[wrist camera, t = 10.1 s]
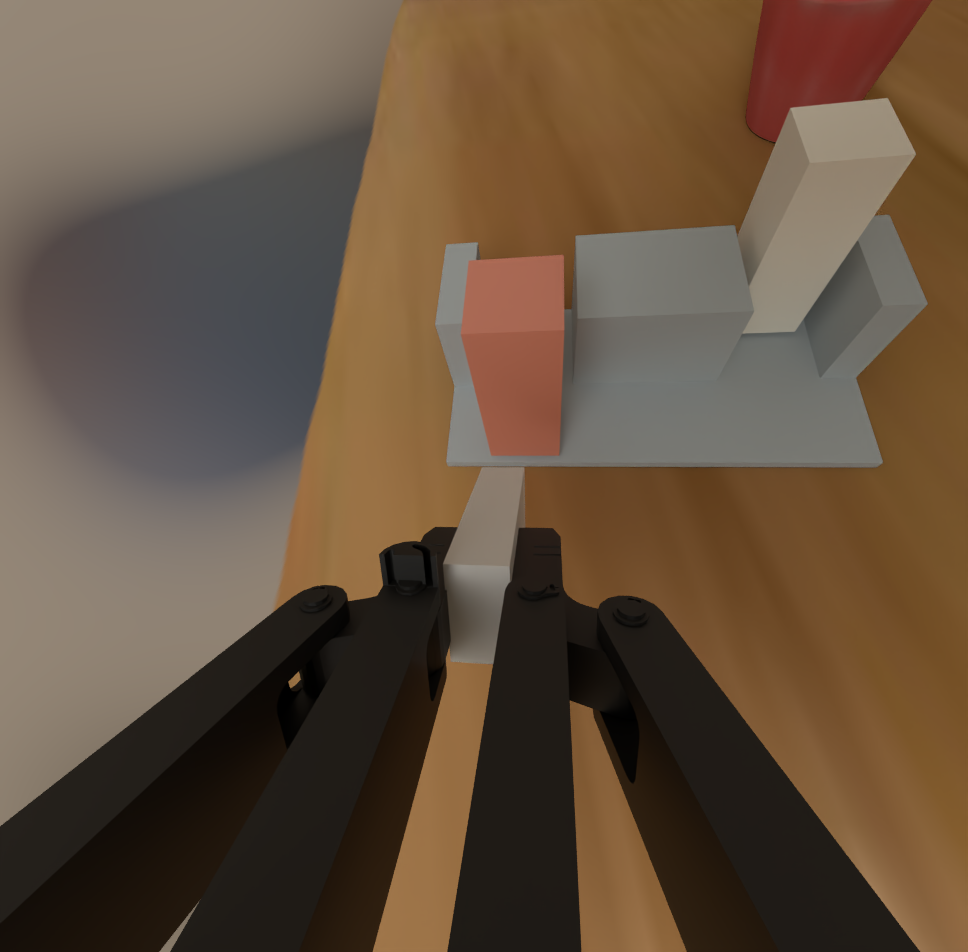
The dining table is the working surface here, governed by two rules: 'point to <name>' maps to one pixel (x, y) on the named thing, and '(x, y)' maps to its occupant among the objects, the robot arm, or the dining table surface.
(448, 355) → the slot block
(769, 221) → the cream plug
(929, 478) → the dining table surface
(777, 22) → the flower pot
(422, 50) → the dining table surface
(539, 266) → the red plug
